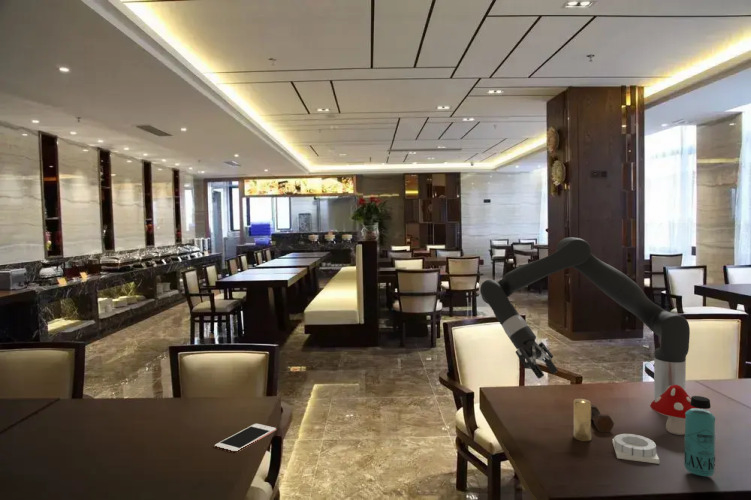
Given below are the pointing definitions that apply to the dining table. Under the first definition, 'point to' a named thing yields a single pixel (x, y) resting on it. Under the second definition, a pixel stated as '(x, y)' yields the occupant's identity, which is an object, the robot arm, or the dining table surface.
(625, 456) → the seat block
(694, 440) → the beverage bottle
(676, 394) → the decorative mushroom
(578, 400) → the cylinder
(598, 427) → the bolt
